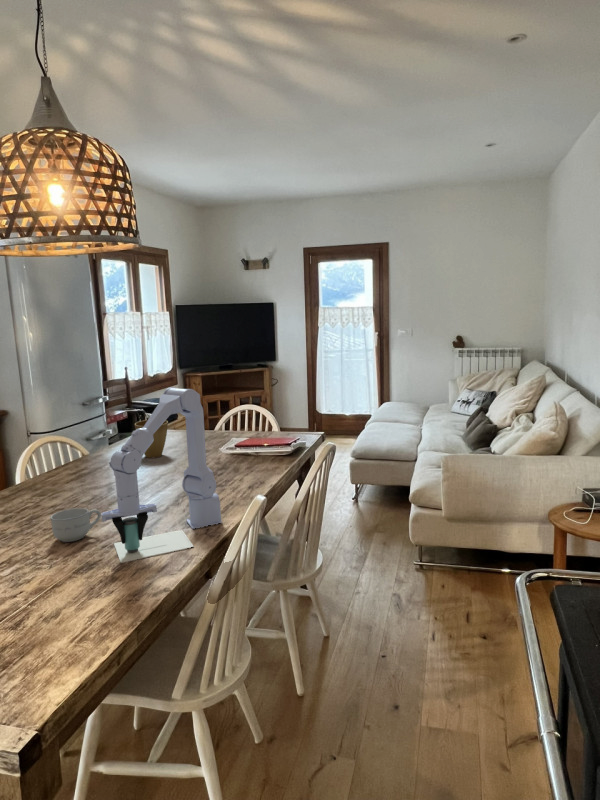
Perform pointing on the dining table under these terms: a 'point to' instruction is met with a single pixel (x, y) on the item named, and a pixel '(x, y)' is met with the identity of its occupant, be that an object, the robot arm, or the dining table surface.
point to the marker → (131, 534)
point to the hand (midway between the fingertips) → (131, 540)
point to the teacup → (72, 523)
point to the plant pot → (155, 439)
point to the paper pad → (155, 546)
